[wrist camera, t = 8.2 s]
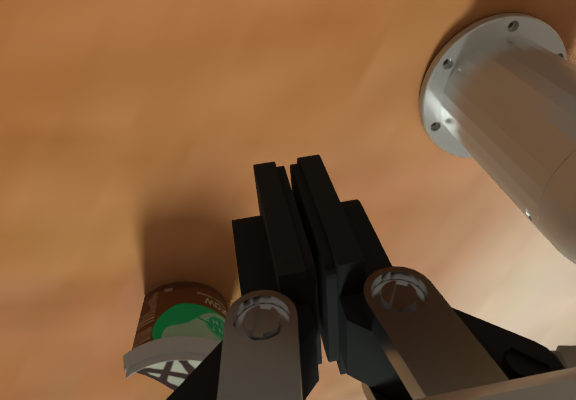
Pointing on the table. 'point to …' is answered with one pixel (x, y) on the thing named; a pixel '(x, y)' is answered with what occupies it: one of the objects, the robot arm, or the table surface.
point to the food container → (176, 332)
